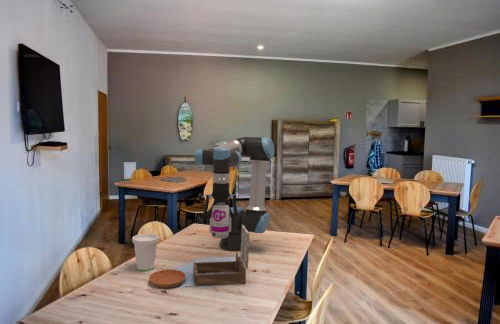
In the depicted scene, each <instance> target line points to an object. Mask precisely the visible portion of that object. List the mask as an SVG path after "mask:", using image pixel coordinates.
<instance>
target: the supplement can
mask: <svg viewBox="0 0 500 324" xmlns="http://www.w3.org/2000/svg"><path fill="white" fill-rule="evenodd" d="M229 206H230V205H229ZM229 206H228V205H226V204H225V202H224V203H217V204H216V205H214V206H213V207H212V214H211V216H210V217H211V218H212V228H211V232H210V236H211V237H212V238H214V239H220V240H221V238H226V237H228V236H229V214H230V213H229Z"/></svg>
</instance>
